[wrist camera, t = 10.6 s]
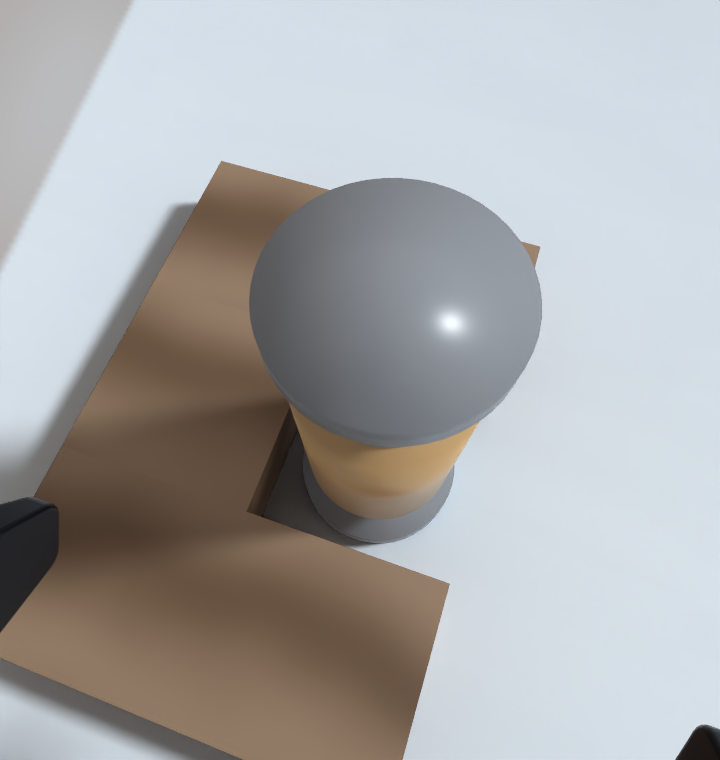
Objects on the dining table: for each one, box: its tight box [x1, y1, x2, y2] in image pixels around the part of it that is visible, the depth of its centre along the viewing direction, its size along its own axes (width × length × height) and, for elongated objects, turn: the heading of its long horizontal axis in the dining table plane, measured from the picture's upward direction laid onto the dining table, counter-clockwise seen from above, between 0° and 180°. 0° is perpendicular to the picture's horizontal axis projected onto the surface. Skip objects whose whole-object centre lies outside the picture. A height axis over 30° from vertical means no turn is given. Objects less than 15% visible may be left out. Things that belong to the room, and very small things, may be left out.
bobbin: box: [249, 178, 542, 543], centre depth 16 cm, size 6×6×13 cm
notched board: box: [0, 161, 540, 760], centre depth 22 cm, size 20×14×2 cm
